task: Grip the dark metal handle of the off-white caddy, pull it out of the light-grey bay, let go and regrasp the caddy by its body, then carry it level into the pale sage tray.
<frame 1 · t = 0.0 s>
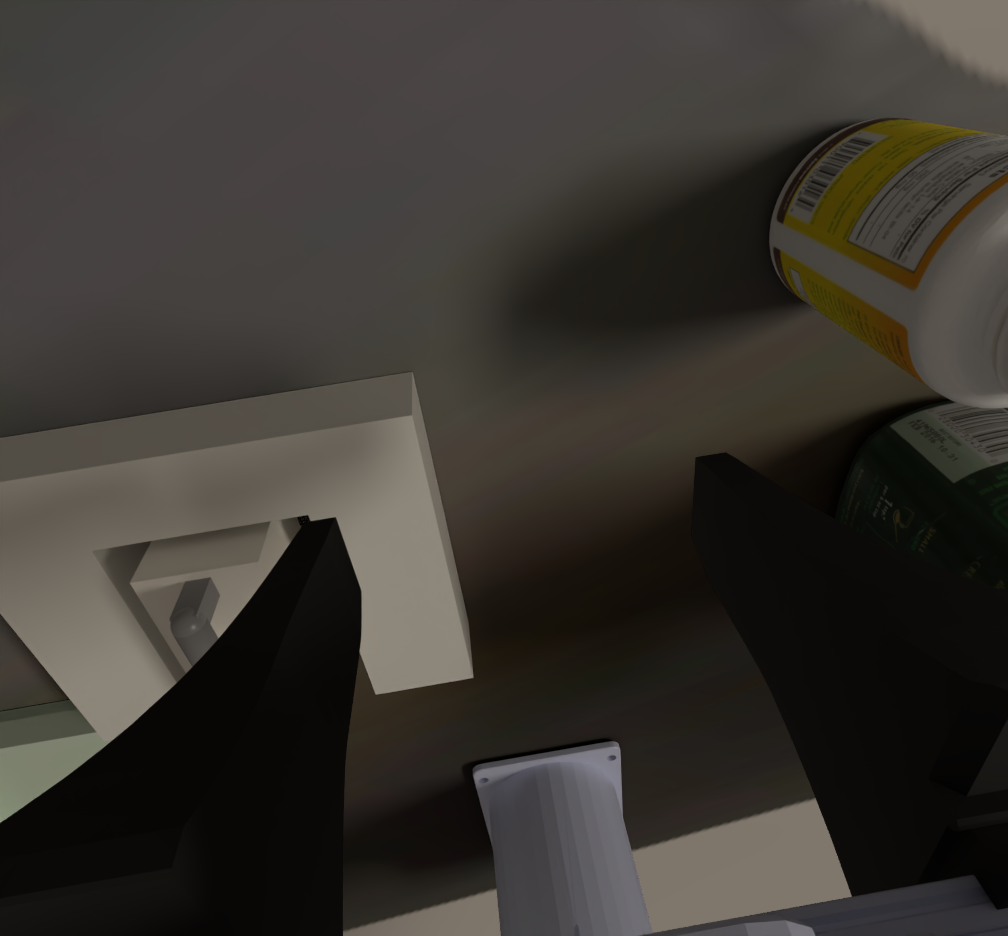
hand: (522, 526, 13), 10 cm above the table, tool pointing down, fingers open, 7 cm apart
bay: (260, 561, 26), on the table
caddy: (260, 558, 26), resting in bay
coffee jar: (914, 485, 28), on the table
tray: (109, 790, 33), on the table
supplement bottle: (844, 211, 21), on the table
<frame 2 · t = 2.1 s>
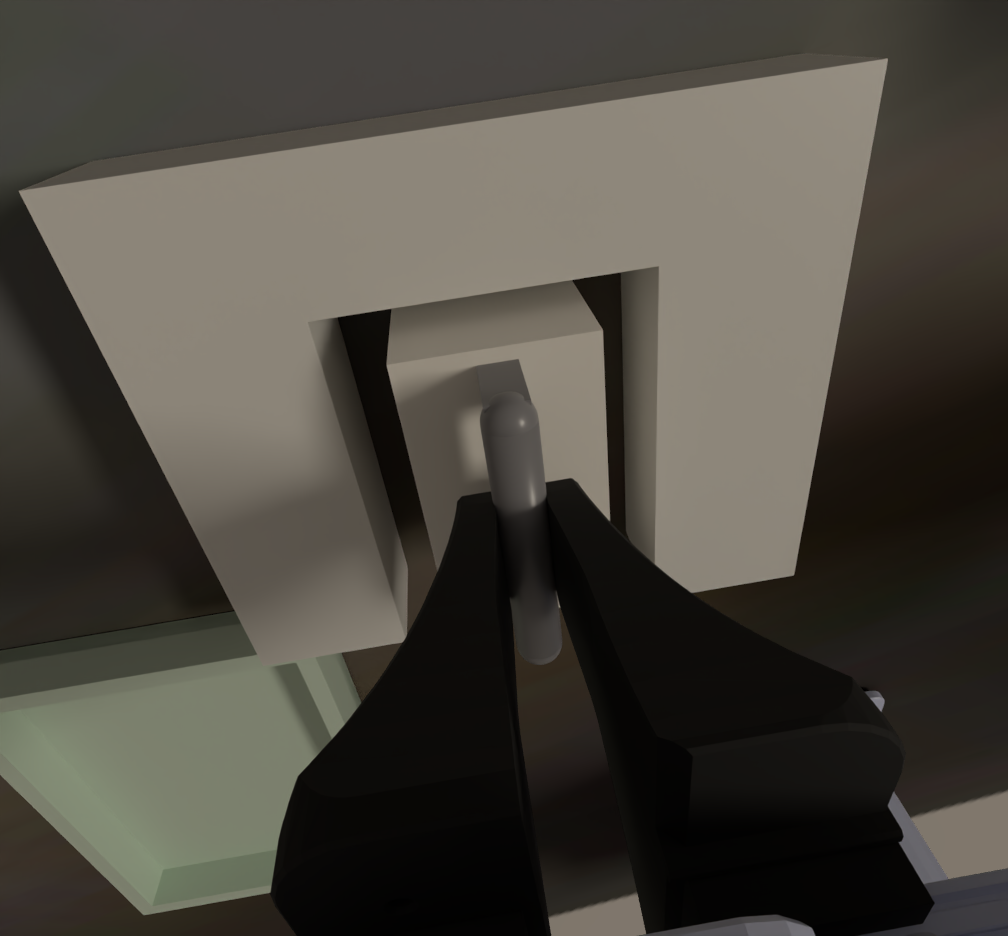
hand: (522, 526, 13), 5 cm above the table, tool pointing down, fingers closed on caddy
bay: (495, 400, 18), on the table
caddy: (495, 399, 18), resting in bay, touching gripper
tray: (226, 751, 25), on the table
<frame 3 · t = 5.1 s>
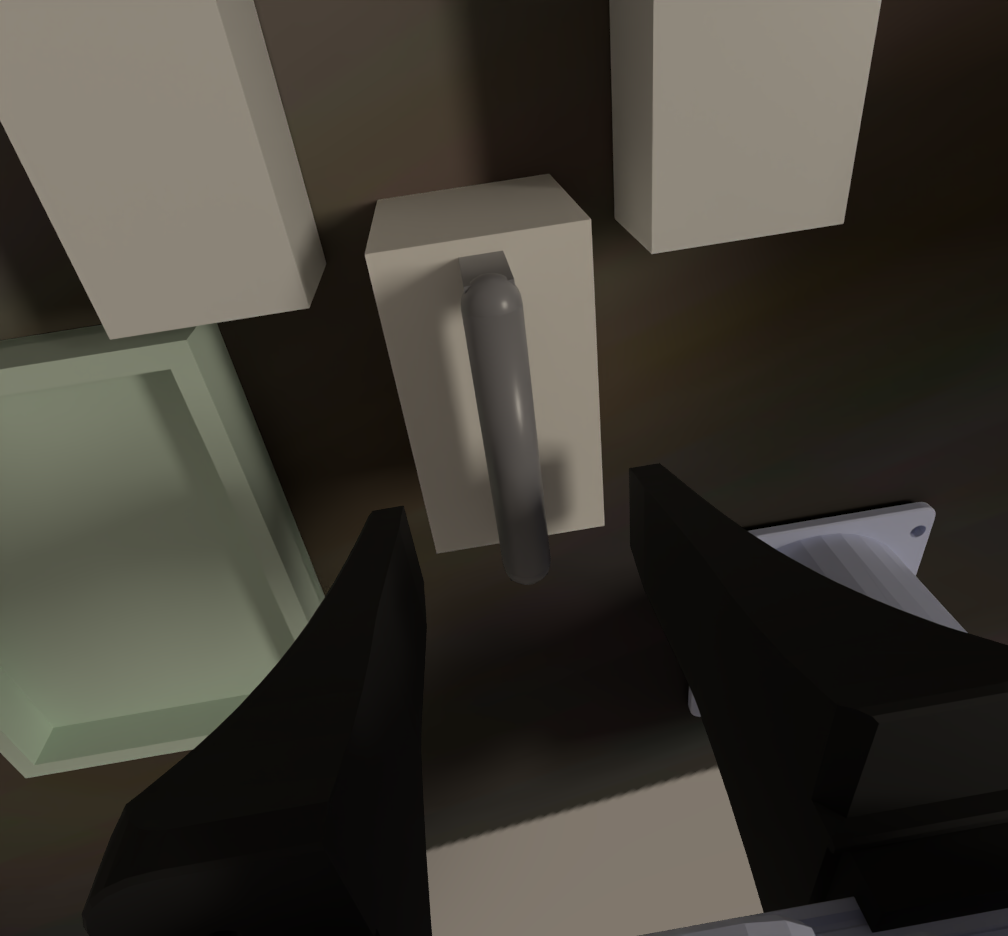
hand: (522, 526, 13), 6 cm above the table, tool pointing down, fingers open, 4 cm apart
caddy: (484, 327, 17), on the table
tray: (116, 557, 20), on the table
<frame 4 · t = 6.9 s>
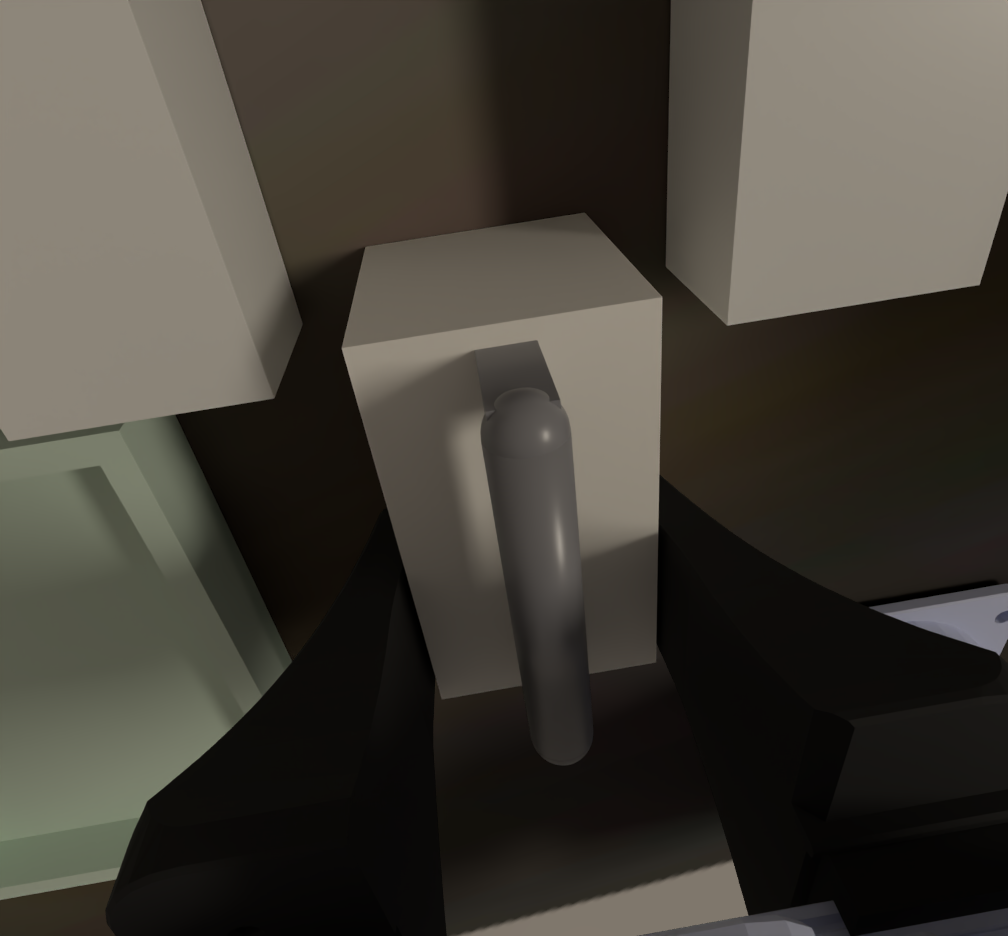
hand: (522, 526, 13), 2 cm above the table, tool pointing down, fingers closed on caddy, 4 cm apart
caddy: (499, 399, 14), on the table, touching gripper
tray: (57, 660, 16), on the table
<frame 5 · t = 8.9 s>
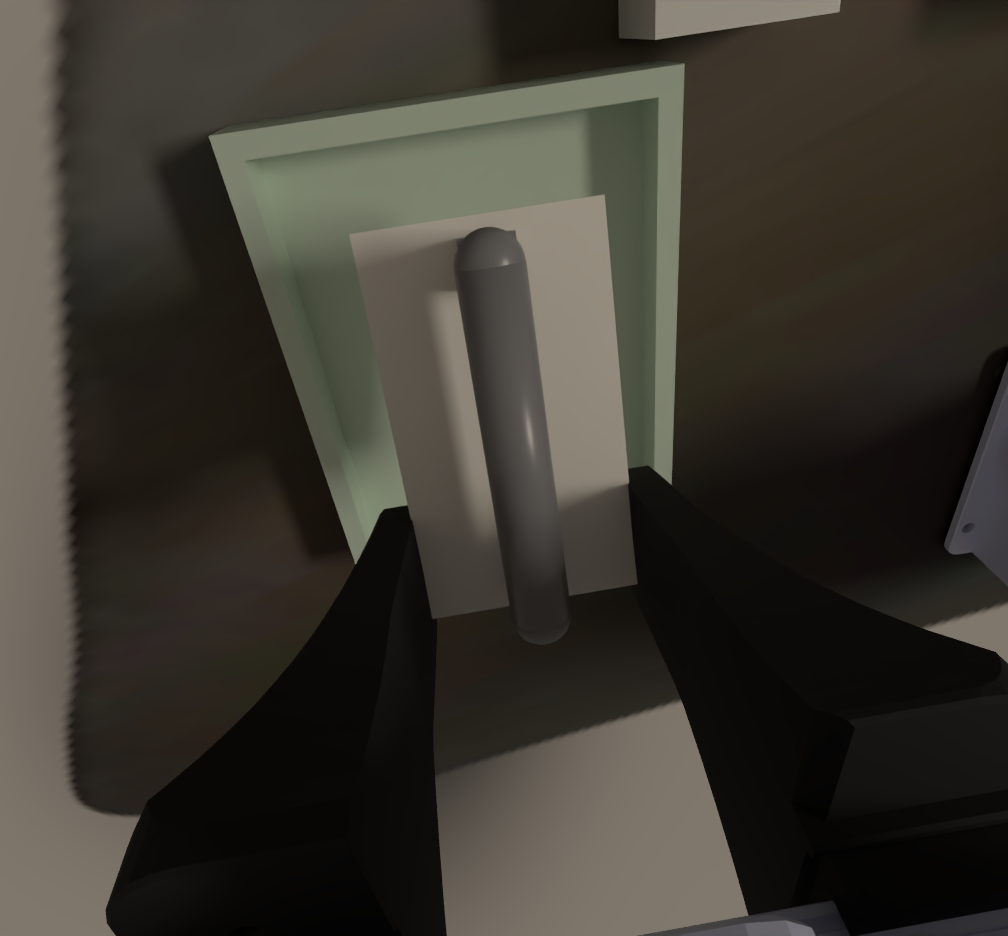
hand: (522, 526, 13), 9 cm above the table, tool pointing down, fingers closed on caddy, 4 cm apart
caddy: (493, 375, 15), point 5 cm above the table, tilted 14°, touching gripper
tray: (483, 346, 20), on the table
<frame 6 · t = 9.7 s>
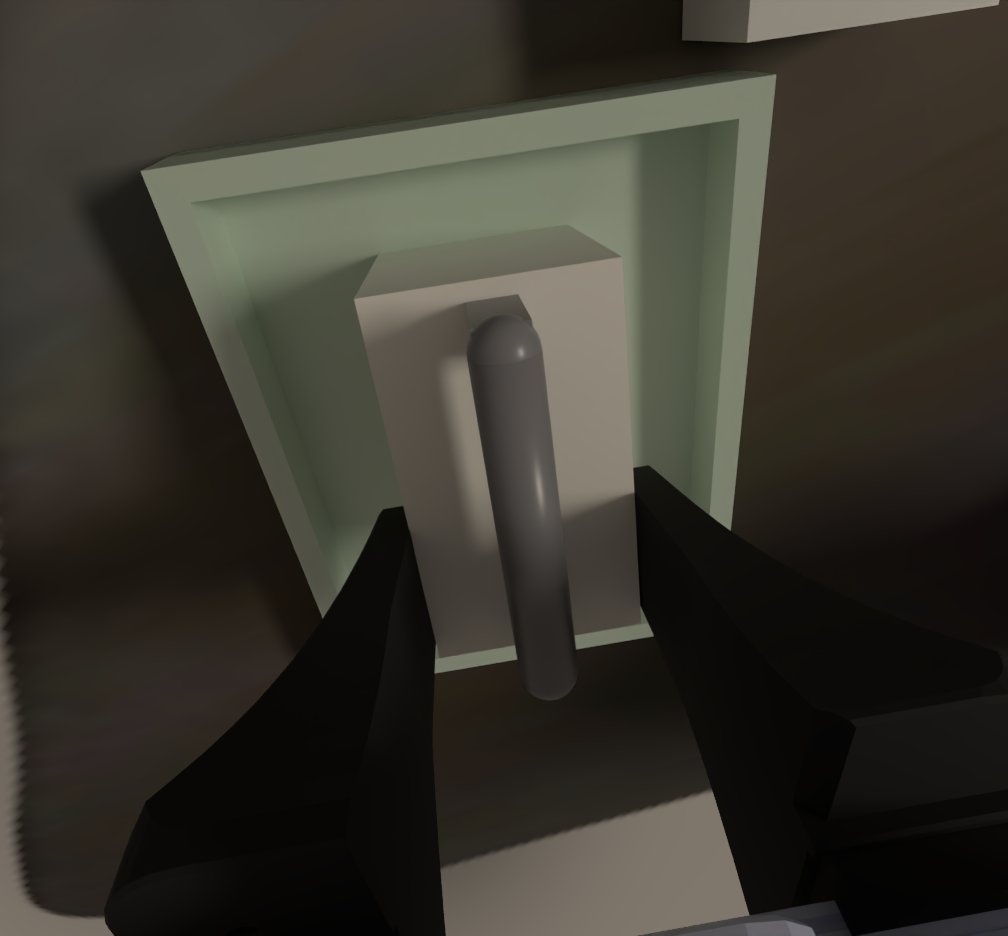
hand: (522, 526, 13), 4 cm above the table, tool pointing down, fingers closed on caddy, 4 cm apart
caddy: (497, 395, 15), point 1 cm above the table, tilted 8°, touching gripper, tray
tray: (500, 416, 17), on the table
when the fingers open (4 cm above the table, at t = 10.2 s): caddy stays where it is, resting on tray.
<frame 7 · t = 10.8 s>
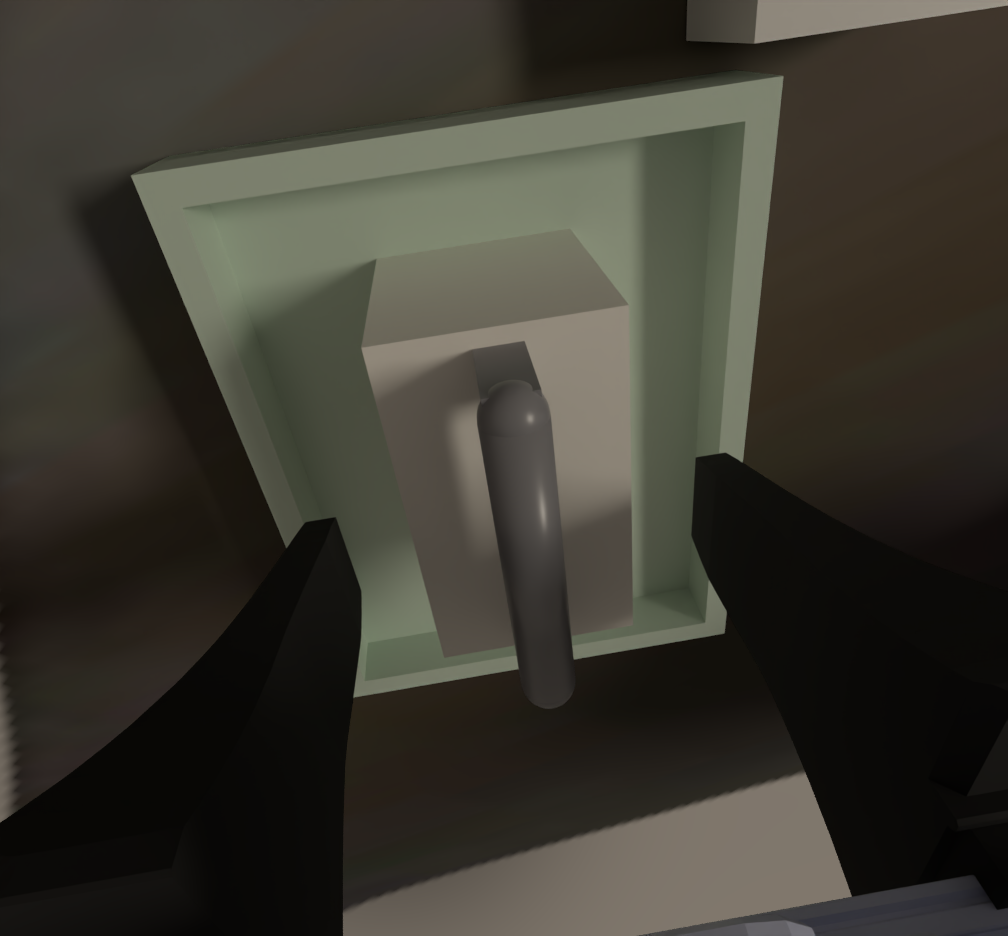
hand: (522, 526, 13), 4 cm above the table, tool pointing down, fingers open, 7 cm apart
caddy: (495, 394, 15), point 1 cm above the table, touching tray
tray: (500, 423, 16), on the table
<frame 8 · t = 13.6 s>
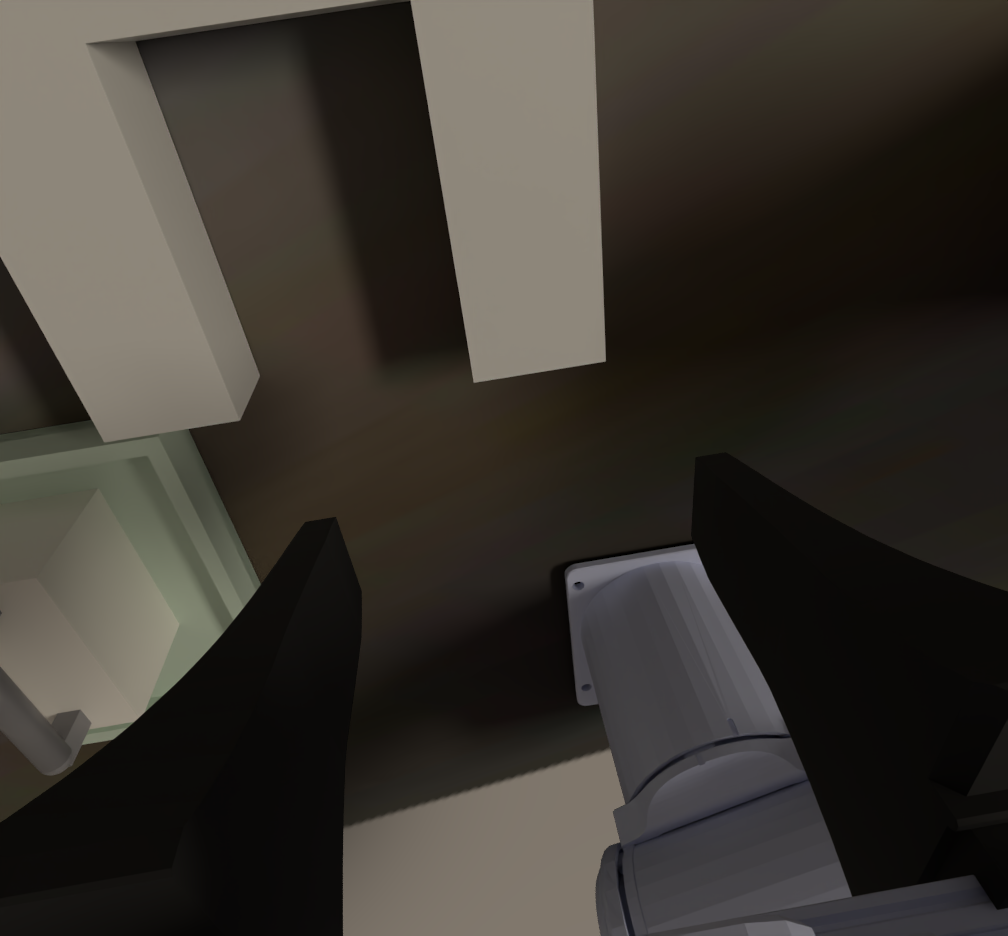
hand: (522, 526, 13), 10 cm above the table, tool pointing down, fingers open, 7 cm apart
bay: (318, 188, 19), on the table
caddy: (89, 570, 25), point 1 cm above the table, touching tray
tray: (110, 581, 26), on the table
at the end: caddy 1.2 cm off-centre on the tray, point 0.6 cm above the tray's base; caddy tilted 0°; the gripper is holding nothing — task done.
